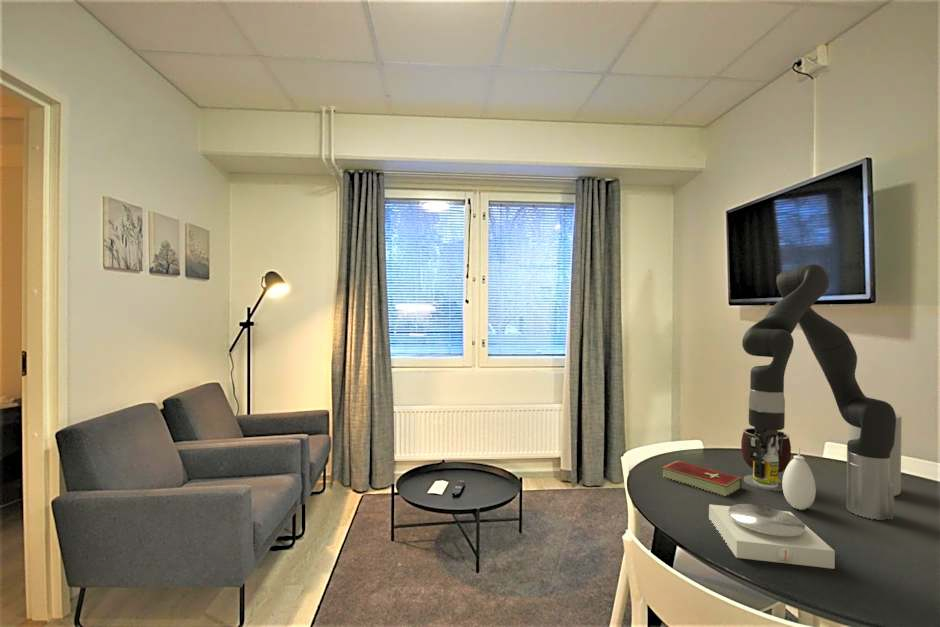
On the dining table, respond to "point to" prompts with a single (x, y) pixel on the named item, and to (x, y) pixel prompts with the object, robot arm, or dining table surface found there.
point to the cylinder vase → (894, 454)
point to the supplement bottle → (769, 470)
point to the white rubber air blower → (799, 483)
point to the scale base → (771, 543)
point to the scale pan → (767, 520)
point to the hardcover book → (702, 477)
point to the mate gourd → (783, 458)
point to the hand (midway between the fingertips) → (765, 474)
